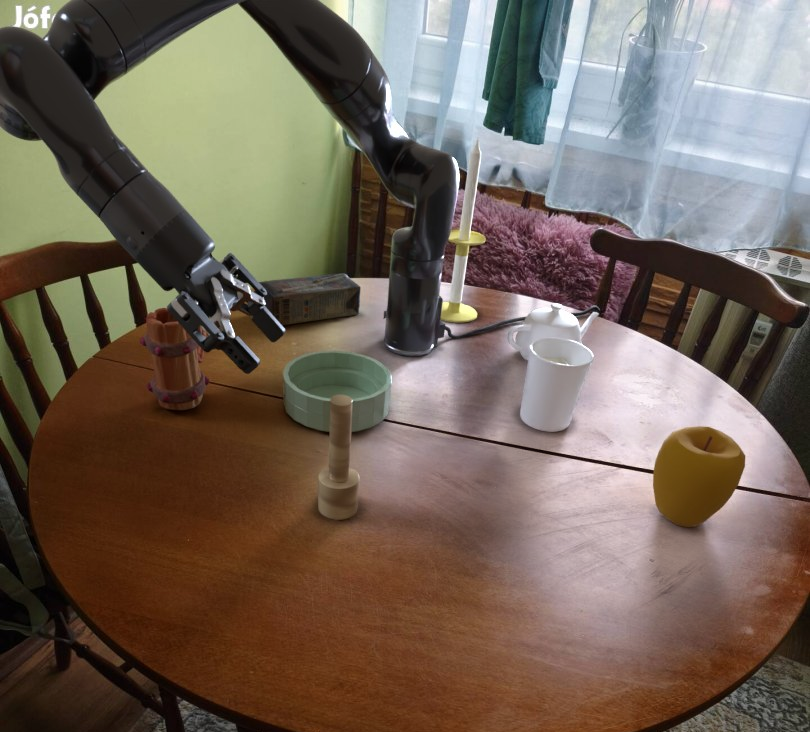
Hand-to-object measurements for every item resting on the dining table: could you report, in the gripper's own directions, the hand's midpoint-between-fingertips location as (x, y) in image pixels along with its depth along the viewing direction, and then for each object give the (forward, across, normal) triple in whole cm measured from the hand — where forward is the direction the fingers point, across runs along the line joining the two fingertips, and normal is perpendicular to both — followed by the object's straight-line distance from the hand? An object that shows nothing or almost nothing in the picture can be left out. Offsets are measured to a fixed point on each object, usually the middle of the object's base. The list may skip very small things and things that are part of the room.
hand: (267, 352), depth 79 cm
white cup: (+39, +33, -10) cm, 52 cm away
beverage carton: (+6, +58, +24) cm, 63 cm away
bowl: (+16, +24, +13) cm, 32 cm away
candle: (+25, +71, +4) cm, 75 cm away
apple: (+53, +13, -24) cm, 60 cm away
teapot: (+39, +57, -10) cm, 70 cm away
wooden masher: (+21, 0, +8) cm, 22 cm away
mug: (0, +20, +30) cm, 36 cm away
